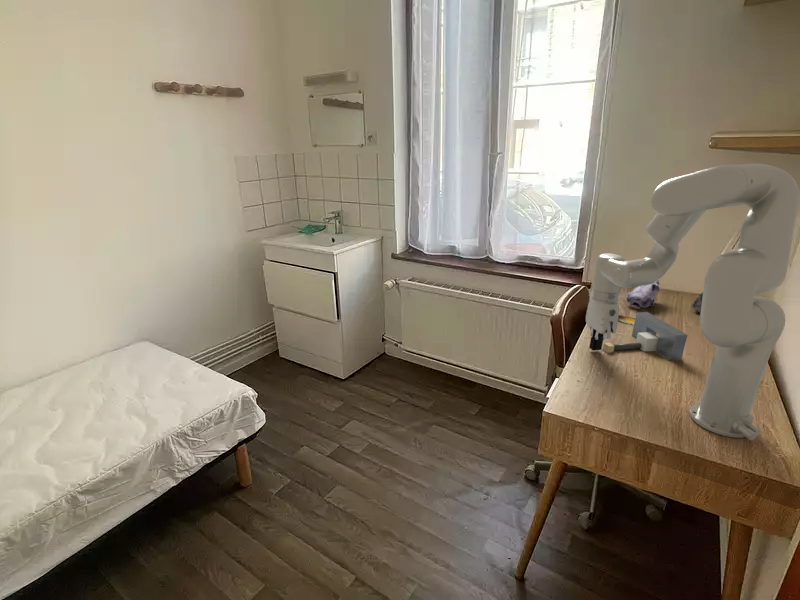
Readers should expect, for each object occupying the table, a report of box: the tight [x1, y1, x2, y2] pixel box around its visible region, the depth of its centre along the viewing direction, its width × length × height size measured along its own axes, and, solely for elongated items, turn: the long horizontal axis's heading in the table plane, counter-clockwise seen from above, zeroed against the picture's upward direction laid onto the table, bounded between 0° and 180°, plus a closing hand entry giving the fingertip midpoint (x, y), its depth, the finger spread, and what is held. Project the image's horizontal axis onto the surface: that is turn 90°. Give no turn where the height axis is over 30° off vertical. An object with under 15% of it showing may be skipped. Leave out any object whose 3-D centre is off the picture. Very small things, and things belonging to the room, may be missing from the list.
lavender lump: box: [626, 279, 662, 310], centre depth 174 cm, size 10×18×10 cm, turn 127°
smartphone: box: [618, 314, 636, 326], centre depth 161 cm, size 7×1×15 cm
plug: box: [602, 332, 659, 354], centre depth 140 cm, size 4×16×4 cm, turn 98°
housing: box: [631, 311, 688, 362], centre depth 140 cm, size 18×4×8 cm, turn 8°
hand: (595, 349), depth 139 cm, fingers closed
